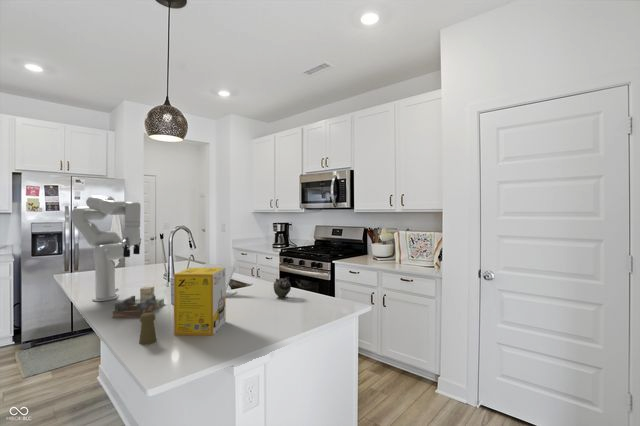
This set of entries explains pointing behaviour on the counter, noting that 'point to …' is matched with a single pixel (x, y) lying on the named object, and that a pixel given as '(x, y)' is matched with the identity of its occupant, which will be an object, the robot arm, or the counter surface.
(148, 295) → the ash block
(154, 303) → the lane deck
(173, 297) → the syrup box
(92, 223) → the robot arm
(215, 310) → the packaging box
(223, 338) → the counter surface
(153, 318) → the cork
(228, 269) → the tablet stand
